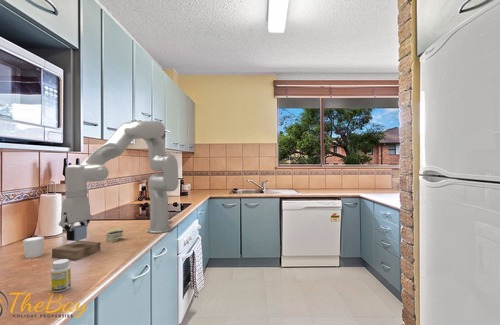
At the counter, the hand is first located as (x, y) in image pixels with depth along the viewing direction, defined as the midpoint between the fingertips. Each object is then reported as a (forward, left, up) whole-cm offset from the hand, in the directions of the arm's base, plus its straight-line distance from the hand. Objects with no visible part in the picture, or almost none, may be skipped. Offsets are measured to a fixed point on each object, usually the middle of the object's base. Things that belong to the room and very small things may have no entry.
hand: (76, 237), depth 112 cm
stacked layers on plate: (-20, 0, -7) cm, 22 cm away
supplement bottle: (+25, +23, -7) cm, 35 cm away
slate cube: (0, 0, -1) cm, 1 cm away
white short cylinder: (+6, -16, -7) cm, 18 cm away
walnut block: (0, 0, -7) cm, 7 cm away
